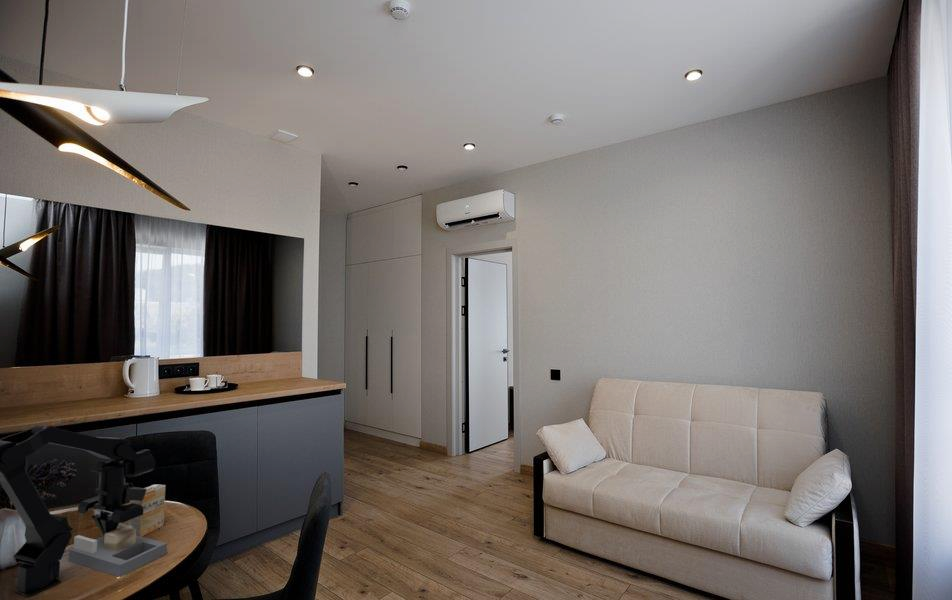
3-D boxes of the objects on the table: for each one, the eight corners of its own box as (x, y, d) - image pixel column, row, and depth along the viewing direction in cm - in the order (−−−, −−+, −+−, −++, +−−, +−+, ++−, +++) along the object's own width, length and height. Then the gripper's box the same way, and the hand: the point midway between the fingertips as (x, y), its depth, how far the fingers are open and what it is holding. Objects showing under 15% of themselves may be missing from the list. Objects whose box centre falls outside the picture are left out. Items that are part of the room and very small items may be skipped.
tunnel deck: (119, 577, 113) (120, 553, 114) (68, 560, 121) (70, 538, 121) (166, 554, 125) (167, 532, 125) (117, 540, 132) (118, 520, 132)
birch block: (116, 551, 120) (116, 536, 120) (103, 548, 121) (104, 533, 122) (135, 543, 124) (136, 528, 125) (123, 540, 126) (124, 525, 126)
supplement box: (140, 538, 133) (142, 494, 134) (127, 536, 134) (129, 493, 135) (164, 526, 141) (166, 484, 142) (152, 524, 142) (153, 483, 143)
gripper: (163, 478, 129) (161, 532, 129) (121, 469, 136) (118, 521, 135) (122, 492, 119) (119, 551, 118) (78, 482, 125) (75, 538, 125)
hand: (109, 539), depth 124 cm, fingers closed
